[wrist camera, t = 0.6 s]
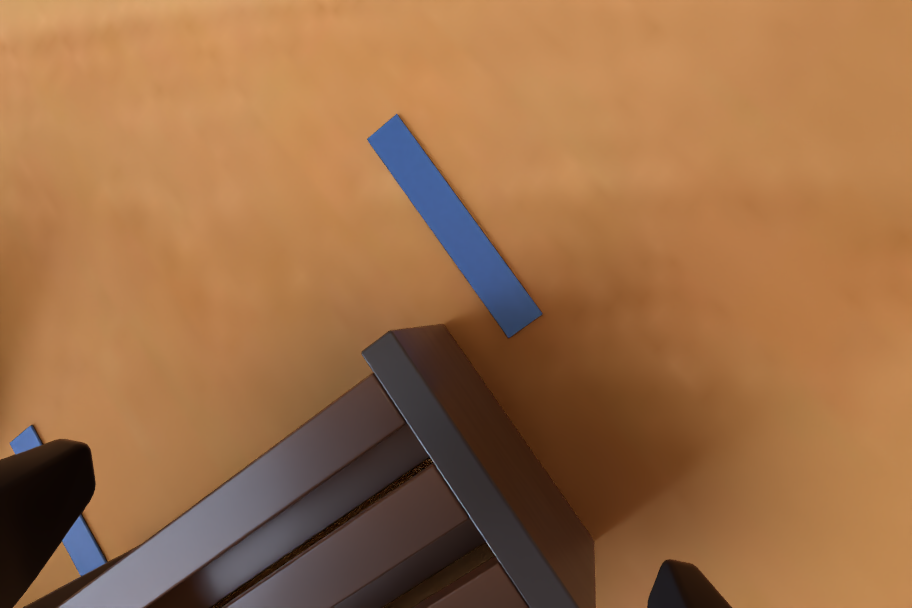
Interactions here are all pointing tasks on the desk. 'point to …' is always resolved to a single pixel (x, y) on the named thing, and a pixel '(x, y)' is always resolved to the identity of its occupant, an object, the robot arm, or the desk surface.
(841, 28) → the desk surface
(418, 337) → the rack
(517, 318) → the tape marks
